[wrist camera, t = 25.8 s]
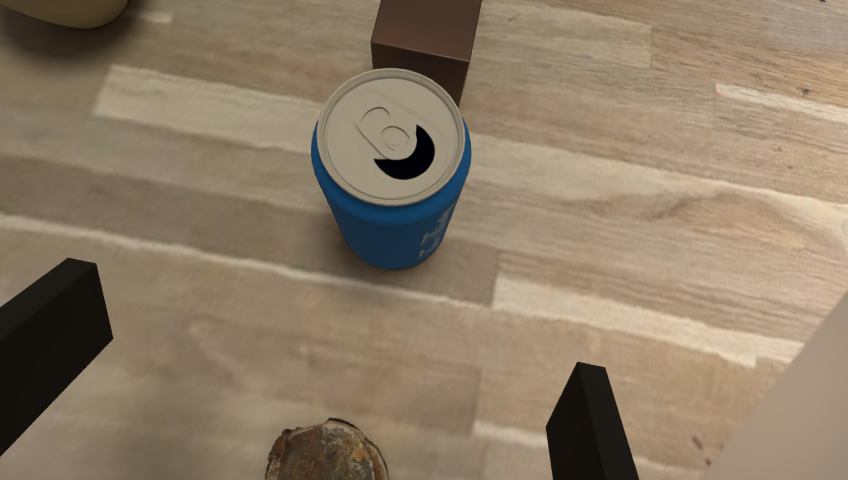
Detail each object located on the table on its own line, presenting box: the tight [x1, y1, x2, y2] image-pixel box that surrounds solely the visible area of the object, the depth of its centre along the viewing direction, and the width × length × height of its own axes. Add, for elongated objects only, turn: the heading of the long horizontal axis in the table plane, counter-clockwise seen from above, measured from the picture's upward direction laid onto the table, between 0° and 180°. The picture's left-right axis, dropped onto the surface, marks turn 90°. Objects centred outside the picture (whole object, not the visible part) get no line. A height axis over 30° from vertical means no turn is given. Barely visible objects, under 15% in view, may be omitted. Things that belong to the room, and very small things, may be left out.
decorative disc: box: [265, 418, 389, 480], centre depth 25 cm, size 7×6×1 cm
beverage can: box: [311, 68, 471, 269], centre depth 24 cm, size 6×6×12 cm
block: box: [371, 0, 482, 108], centre depth 28 cm, size 5×5×8 cm
